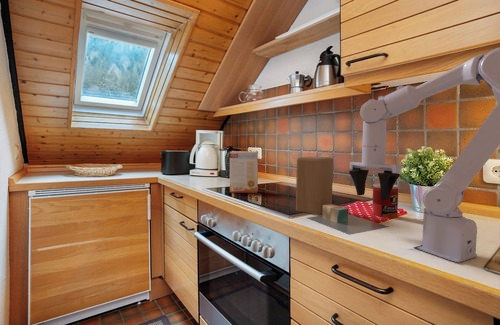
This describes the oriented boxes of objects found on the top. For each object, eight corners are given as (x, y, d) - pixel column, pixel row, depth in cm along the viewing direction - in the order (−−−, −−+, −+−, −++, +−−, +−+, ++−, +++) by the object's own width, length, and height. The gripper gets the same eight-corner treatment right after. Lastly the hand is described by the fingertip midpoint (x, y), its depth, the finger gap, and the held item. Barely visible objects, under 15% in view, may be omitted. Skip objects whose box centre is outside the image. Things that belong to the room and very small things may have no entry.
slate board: (389, 229, 79) (389, 226, 79) (349, 237, 72) (349, 234, 71) (342, 214, 95) (342, 212, 95) (306, 220, 88) (306, 217, 88)
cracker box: (257, 191, 142) (258, 151, 140) (256, 193, 136) (257, 151, 134) (231, 190, 143) (231, 151, 142) (229, 192, 137) (229, 151, 136)
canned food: (383, 220, 88) (385, 187, 87) (366, 214, 95) (367, 183, 94) (402, 219, 90) (404, 186, 89) (384, 213, 97) (385, 183, 97)
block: (307, 208, 105) (308, 156, 104) (332, 212, 99) (334, 157, 97) (294, 212, 97) (295, 157, 96) (320, 217, 91) (322, 158, 90)
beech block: (348, 208, 83) (332, 204, 89) (338, 210, 81) (322, 205, 88) (347, 221, 84) (331, 216, 90) (338, 223, 82) (322, 217, 88)
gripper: (409, 147, 67) (407, 201, 68) (362, 146, 80) (360, 192, 81) (391, 147, 64) (388, 203, 65) (344, 146, 77) (343, 193, 78)
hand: (372, 197), depth 73 cm, fingers open, 7 cm apart
